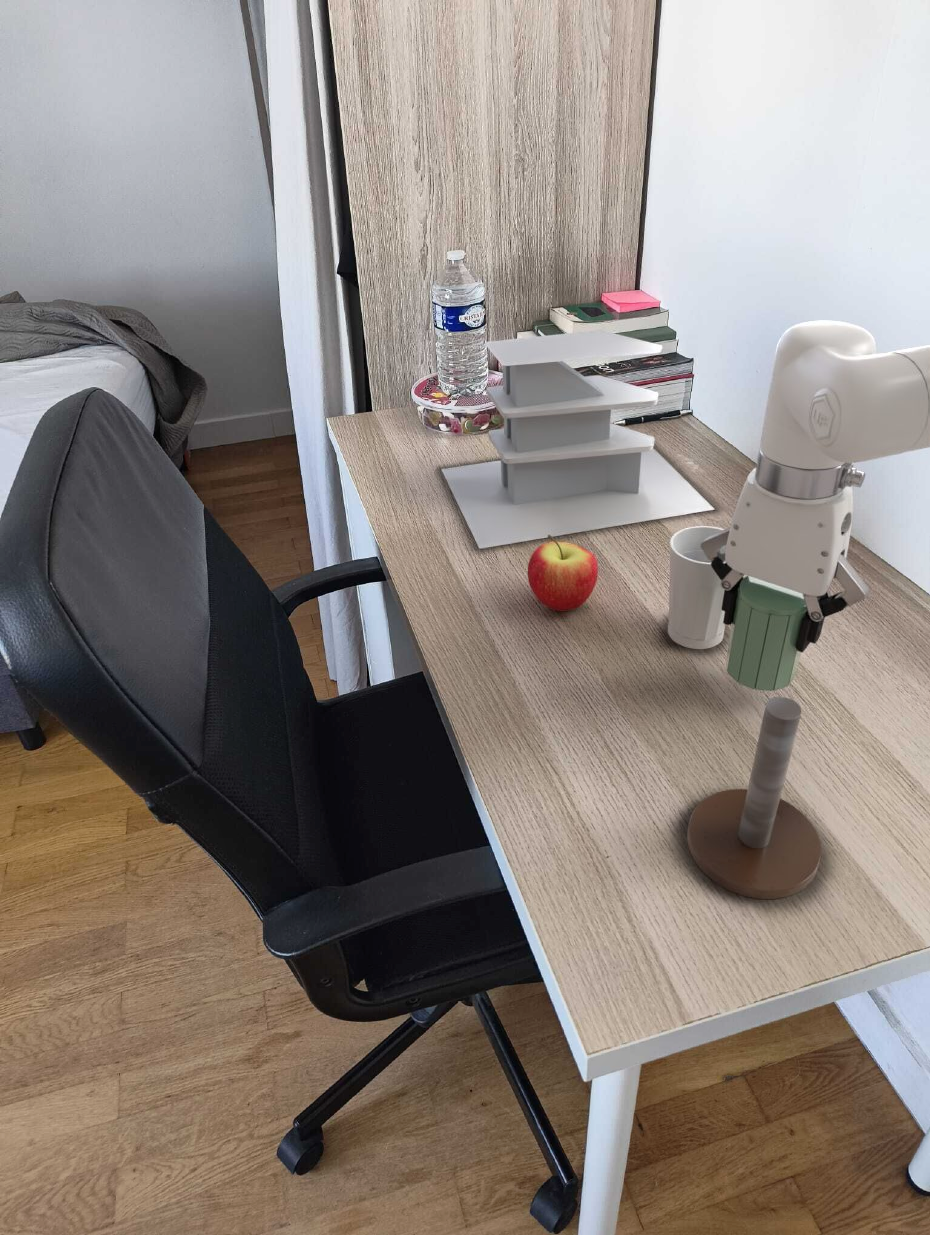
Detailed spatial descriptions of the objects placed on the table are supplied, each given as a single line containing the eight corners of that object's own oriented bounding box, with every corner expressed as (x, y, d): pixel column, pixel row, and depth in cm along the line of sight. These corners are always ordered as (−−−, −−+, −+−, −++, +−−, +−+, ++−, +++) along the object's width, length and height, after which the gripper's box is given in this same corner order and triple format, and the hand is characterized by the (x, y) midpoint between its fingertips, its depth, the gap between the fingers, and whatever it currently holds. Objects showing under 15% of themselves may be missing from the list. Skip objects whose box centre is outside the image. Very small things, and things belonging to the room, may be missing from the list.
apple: (524, 587, 108) (523, 518, 102) (589, 582, 108) (593, 513, 102) (532, 625, 101) (531, 554, 95) (602, 620, 101) (606, 549, 95)
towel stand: (838, 835, 74) (882, 697, 64) (788, 923, 67) (829, 783, 58) (721, 779, 80) (745, 645, 70) (664, 855, 73) (683, 718, 64)
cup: (738, 652, 95) (754, 562, 88) (666, 654, 95) (677, 565, 88) (722, 611, 101) (735, 524, 94) (655, 613, 102) (664, 527, 95)
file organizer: (441, 469, 136) (430, 334, 123) (643, 438, 142) (654, 306, 129) (479, 548, 116) (472, 397, 103) (714, 509, 121) (735, 360, 108)
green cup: (804, 664, 88) (824, 585, 82) (778, 699, 84) (796, 619, 78) (742, 641, 91) (757, 563, 85) (714, 674, 87) (727, 594, 81)
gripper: (918, 478, 72) (869, 643, 82) (726, 432, 81) (704, 586, 91) (889, 515, 67) (841, 684, 78) (690, 461, 76) (671, 619, 87)
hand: (767, 629), depth 84 cm, fingers closed on green cup, 6 cm apart
